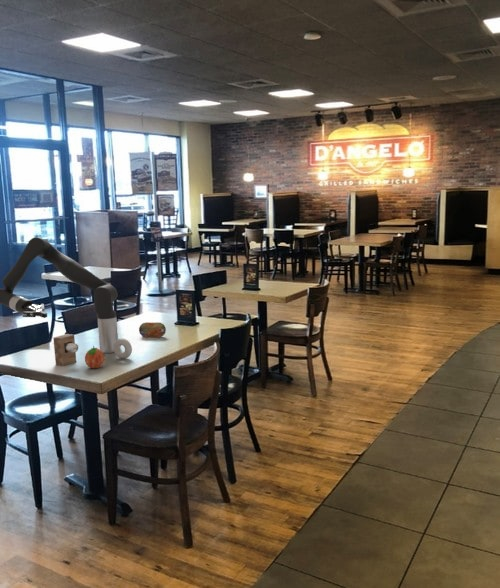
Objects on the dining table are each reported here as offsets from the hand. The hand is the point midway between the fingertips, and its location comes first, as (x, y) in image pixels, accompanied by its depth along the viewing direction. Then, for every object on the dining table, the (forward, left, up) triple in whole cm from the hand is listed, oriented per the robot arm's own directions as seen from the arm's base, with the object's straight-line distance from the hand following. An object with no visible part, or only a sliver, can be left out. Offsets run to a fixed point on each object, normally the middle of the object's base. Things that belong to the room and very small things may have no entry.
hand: (46, 315), depth 279 cm
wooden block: (-8, +10, -22) cm, 25 cm away
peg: (-9, +12, -16) cm, 22 cm away
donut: (-34, +12, -22) cm, 42 cm away
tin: (-52, -28, -22) cm, 63 cm away
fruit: (-21, +23, -22) cm, 38 cm away
